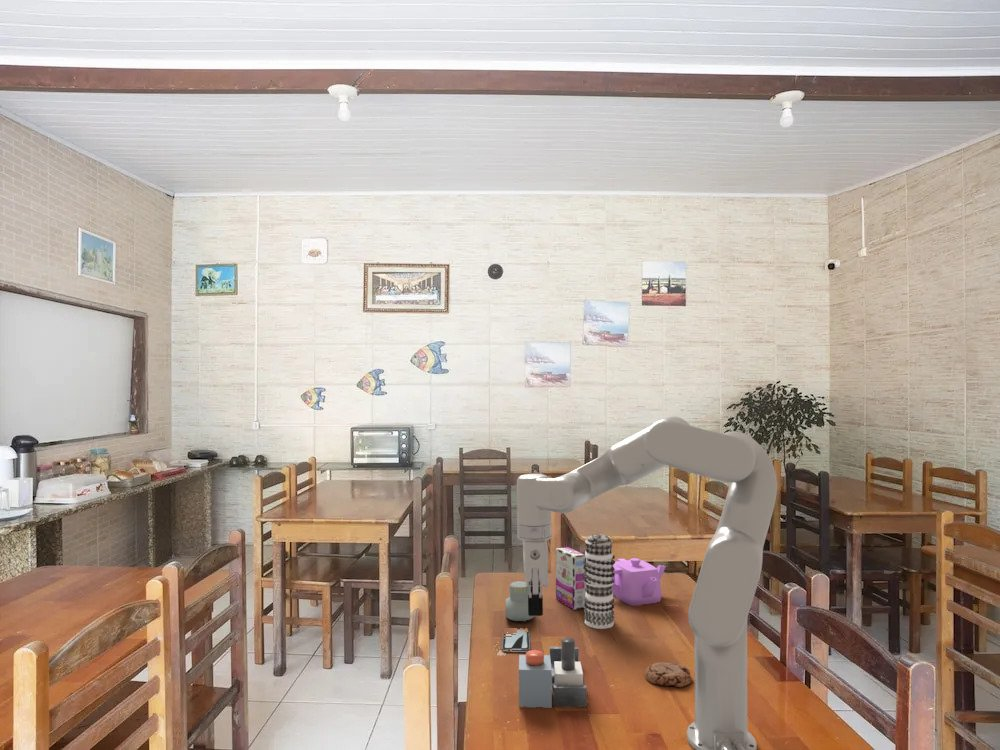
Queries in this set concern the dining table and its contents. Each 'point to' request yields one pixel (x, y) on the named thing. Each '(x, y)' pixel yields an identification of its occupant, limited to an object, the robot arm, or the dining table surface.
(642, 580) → the teakettle
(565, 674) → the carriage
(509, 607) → the air freshener
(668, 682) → the cookie
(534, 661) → the button
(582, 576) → the candy bar box
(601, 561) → the decorative candle
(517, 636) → the smartphone
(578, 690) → the rail
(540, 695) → the button housing
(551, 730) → the dining table surface
